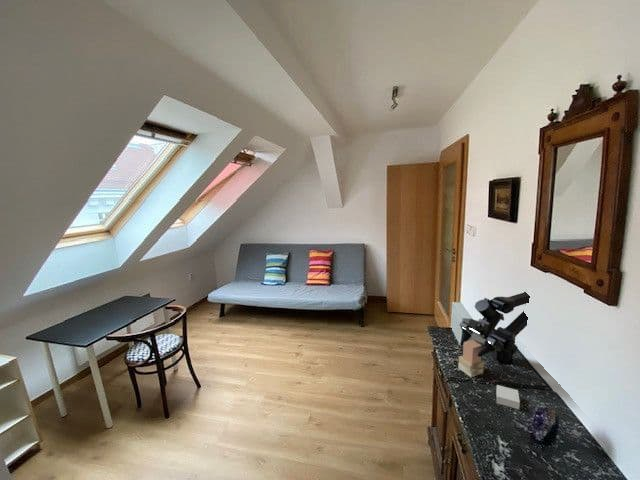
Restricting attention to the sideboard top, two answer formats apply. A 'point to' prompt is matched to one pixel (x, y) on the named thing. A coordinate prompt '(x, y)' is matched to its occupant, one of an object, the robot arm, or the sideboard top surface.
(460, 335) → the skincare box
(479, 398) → the sideboard top surface
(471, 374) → the tower base
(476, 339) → the external hard drive
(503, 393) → the block
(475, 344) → the terracotta block
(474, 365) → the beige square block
